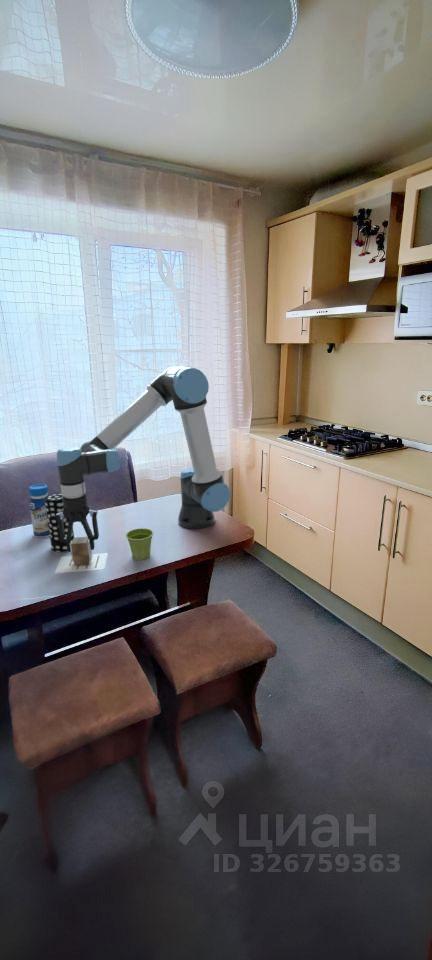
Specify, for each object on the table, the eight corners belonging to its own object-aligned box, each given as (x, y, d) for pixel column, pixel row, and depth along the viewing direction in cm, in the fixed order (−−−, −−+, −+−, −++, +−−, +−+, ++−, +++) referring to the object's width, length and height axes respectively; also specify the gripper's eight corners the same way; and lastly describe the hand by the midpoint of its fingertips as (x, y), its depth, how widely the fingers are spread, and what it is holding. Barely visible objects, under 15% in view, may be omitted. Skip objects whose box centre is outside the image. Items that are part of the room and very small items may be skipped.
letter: (107, 553, 156) (107, 553, 156) (104, 569, 145) (104, 569, 145) (61, 557, 154) (61, 556, 154) (54, 573, 143) (54, 573, 143)
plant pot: (149, 563, 148) (147, 540, 146) (123, 561, 150) (121, 538, 148) (158, 551, 157) (156, 529, 155) (133, 549, 159) (132, 527, 156)
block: (91, 557, 152) (88, 536, 150) (89, 564, 147) (86, 542, 145) (76, 558, 151) (73, 537, 149) (74, 565, 147) (71, 544, 144)
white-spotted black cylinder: (47, 551, 158) (39, 500, 152) (58, 542, 166) (51, 492, 160) (69, 553, 157) (62, 501, 151) (79, 543, 165) (72, 493, 159)
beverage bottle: (52, 528, 179) (46, 481, 173) (58, 534, 173) (52, 487, 167) (31, 533, 175) (23, 485, 169) (36, 540, 168) (28, 491, 162)
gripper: (103, 489, 147) (110, 551, 154) (48, 492, 145) (57, 556, 152) (100, 496, 140) (108, 561, 147) (42, 500, 138) (52, 566, 144)
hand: (82, 558), depth 149 cm, fingers closed on block, 5 cm apart
